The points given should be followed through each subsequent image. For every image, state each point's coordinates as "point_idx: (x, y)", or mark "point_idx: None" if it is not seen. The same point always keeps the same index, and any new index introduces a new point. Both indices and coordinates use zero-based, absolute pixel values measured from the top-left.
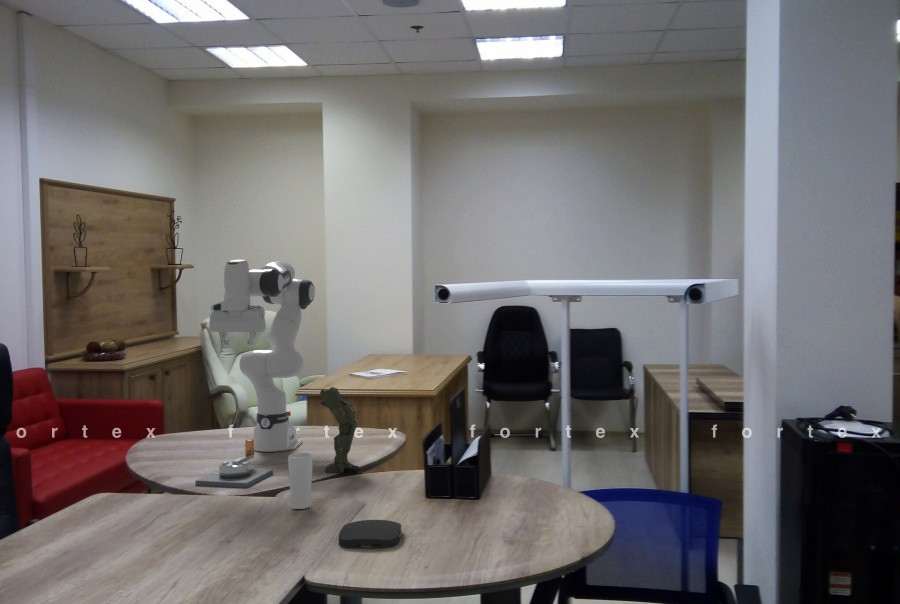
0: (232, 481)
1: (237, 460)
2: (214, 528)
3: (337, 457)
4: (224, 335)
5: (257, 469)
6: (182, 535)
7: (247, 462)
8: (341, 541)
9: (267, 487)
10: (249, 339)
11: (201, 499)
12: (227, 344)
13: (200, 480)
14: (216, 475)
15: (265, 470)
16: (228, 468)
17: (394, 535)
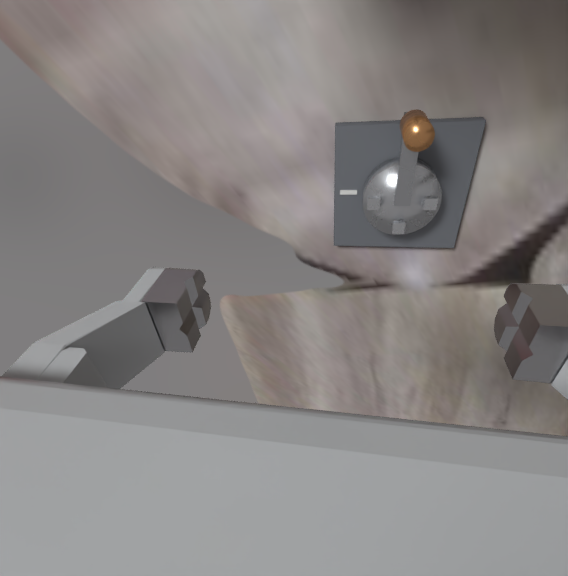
0: (416, 241)
1: (405, 198)
2: (470, 397)
3: None
4: (73, 344)
5: (438, 129)
6: (439, 412)
7: (436, 200)
8: None
9: (498, 233)
10: (565, 393)
11: (393, 309)
12: (202, 290)
13: (344, 244)
14: (356, 204)
15: (466, 135)
16: (400, 234)
17: None
